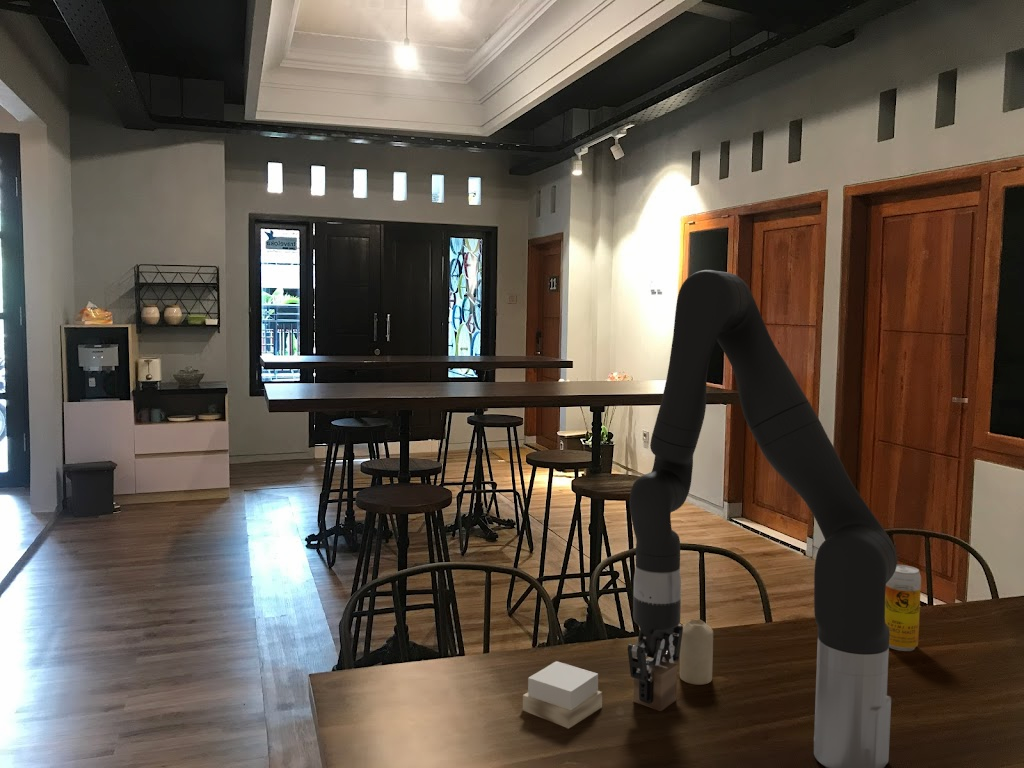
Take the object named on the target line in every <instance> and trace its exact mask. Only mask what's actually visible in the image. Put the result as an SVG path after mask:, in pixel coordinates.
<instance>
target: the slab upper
mask: <svg viewBox="0 0 1024 768" xmlns="http://www.w3.org/2000/svg"><path fill="white" fill-rule="evenodd" d="M527 687H528V689H527V692H528V696H529V697H532V698H535V699H538V700H541V701H544V702H547V703H550V704H553V705H556V706H558V707H561V708H564V709H567V710H570V711H571V710H573V709H574V708H575V707H577V706H578V705H580V704H581V703H583V702H584V701H586V700H587V699H588V698H590V697H591V696H593V695H594V694H596V693H597V692H598V691H599V673H597V672H594V671H590V670H587V669H583V668H580V667H577V666H574V665H571V664H568V663H565V662H560V661H558V660H556V661H554V662H552V663H551V664H549V665H547V666H546V667H544V668H542V669H541V670H539V671H537V672H536V673H534V674H532V675H530V676H529V677H528V678H527Z"/></svg>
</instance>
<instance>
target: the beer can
mask: <svg viewBox="0 0 1024 768" xmlns="http://www.w3.org/2000/svg"><path fill="white" fill-rule="evenodd" d="M921 589H922V575H921V573H920V569H919V568H917V567H914V566H911V565H910V566H909V565H905V564H897V566H896V570H895V572H894V574H893V576H892V577H891V578H890V580H889V581H888V582H887V583H886V591H885V623H886V624H887V626H888V628H889V633H890V634H889V649H893V650H896V651H900V652H902V651H903V652H912V651H914V650H915V649H916V647H918V646H919V633H920V631H919V630H920V610H921V592H922V591H921Z"/></svg>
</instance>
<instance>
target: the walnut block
mask: <svg viewBox="0 0 1024 768" xmlns="http://www.w3.org/2000/svg"><path fill="white" fill-rule="evenodd" d="M646 659H648V660H651V661H653V659H654V658H651V657H646ZM637 671H638V668H637ZM647 672H649V666H648V665H647ZM677 675H678V664H676V663H674V664H673V663H669V662H667V661H664V660H660V663H659V666H658V667H656V668H655V672H654V679H653V702H652V703H650V704H648V703H645V702H642V701H640V699H639V680H638V679H635V678H633V702H634V703H636V704H638V705H642V706H645V707H647V708H649V709H652V710H656V711H658V712H662V711H663V710H665V709H666V708H668V707H669V706H670V705H672V704H673V703H674V702H676V700H677V689H678V687H677V686H678V685H677V683H678V682H677V681H678V679H677V678H678V676H677Z"/></svg>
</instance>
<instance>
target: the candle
mask: <svg viewBox="0 0 1024 768" xmlns="http://www.w3.org/2000/svg"><path fill="white" fill-rule="evenodd" d="M682 626H683V633H682V640H681V648H680V655H679V678H680V680H682V681H683V682H684V683H688V684H690V685H695V686H696V685H697V686H700V685H706V684H707V685H708V684H709V683H711V682H712V679H713V662H714V661H713V655H714V654H713V653H714V630H713V628H711V627H710V626H709V625H708V624H707V623H706V622H705V621H703V620H702V619H697V618H696V619H691V620H689V621H687V622H686V623H685V624H684V625H682Z"/></svg>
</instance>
